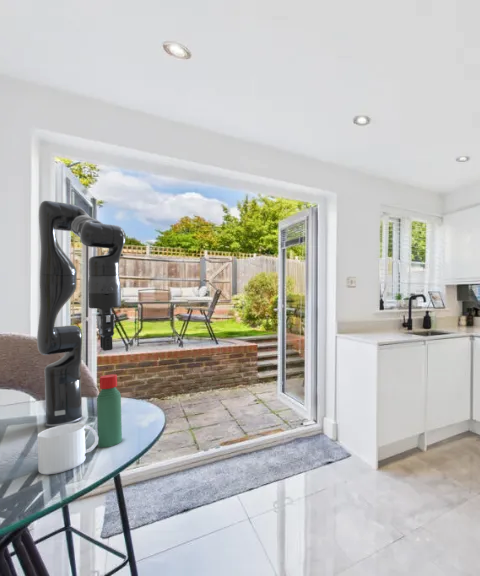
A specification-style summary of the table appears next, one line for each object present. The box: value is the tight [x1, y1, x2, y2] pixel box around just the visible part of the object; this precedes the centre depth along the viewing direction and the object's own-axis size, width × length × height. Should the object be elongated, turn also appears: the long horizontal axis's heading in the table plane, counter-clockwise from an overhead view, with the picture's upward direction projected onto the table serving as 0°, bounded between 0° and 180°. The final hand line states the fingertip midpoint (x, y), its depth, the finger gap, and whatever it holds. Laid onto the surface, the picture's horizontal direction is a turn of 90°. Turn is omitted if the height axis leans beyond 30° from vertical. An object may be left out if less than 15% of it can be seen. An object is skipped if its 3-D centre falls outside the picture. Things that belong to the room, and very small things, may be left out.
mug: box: [37, 422, 99, 475], centre depth 92 cm, size 12×9×9 cm
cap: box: [99, 373, 118, 390], centre depth 104 cm, size 4×4×3 cm
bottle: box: [96, 386, 123, 448], centre depth 104 cm, size 6×6×20 cm
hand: (106, 348), depth 103 cm, fingers open, 5 cm apart
